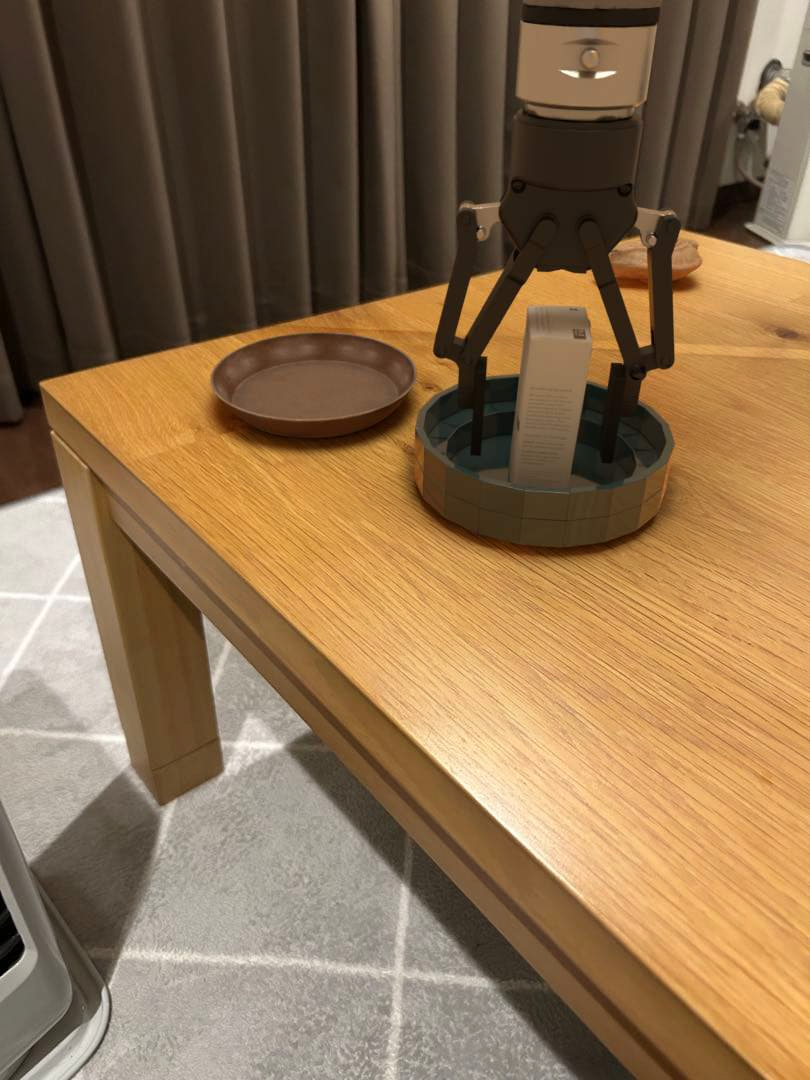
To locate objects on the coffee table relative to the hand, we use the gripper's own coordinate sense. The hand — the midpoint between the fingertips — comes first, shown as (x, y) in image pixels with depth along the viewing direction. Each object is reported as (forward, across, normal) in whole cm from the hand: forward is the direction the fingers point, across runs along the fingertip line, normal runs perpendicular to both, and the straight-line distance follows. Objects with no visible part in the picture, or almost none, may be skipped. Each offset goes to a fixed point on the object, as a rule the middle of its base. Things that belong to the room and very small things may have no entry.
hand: (540, 450), depth 63 cm
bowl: (+3, 0, 0) cm, 3 cm away
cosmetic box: (+2, 0, 0) cm, 2 cm away
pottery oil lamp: (+3, +14, +50) cm, 52 cm away
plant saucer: (+3, -19, +12) cm, 23 cm away
